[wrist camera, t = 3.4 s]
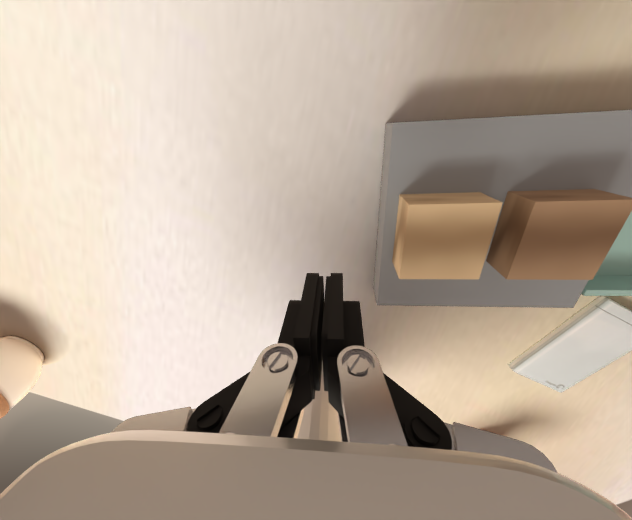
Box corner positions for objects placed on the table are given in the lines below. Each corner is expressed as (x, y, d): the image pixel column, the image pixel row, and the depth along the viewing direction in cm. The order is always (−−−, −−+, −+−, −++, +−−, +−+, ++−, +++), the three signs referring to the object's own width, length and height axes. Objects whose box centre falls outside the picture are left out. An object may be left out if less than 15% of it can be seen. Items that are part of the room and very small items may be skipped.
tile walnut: (560, 260, 21) (592, 279, 18) (486, 260, 22) (506, 279, 19) (594, 188, 18) (638, 199, 16) (507, 191, 19) (535, 201, 16)
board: (549, 289, 26) (573, 307, 23) (373, 288, 27) (377, 305, 25) (635, 109, 18) (685, 106, 16) (385, 123, 20) (392, 122, 17)
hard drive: (563, 394, 31) (669, 332, 26) (512, 371, 30) (612, 301, 25) (553, 382, 33) (652, 321, 27) (504, 360, 32) (597, 291, 26)
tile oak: (461, 261, 22) (478, 279, 19) (392, 261, 22) (399, 279, 20) (479, 192, 19) (502, 202, 16) (399, 194, 20) (409, 204, 17)
